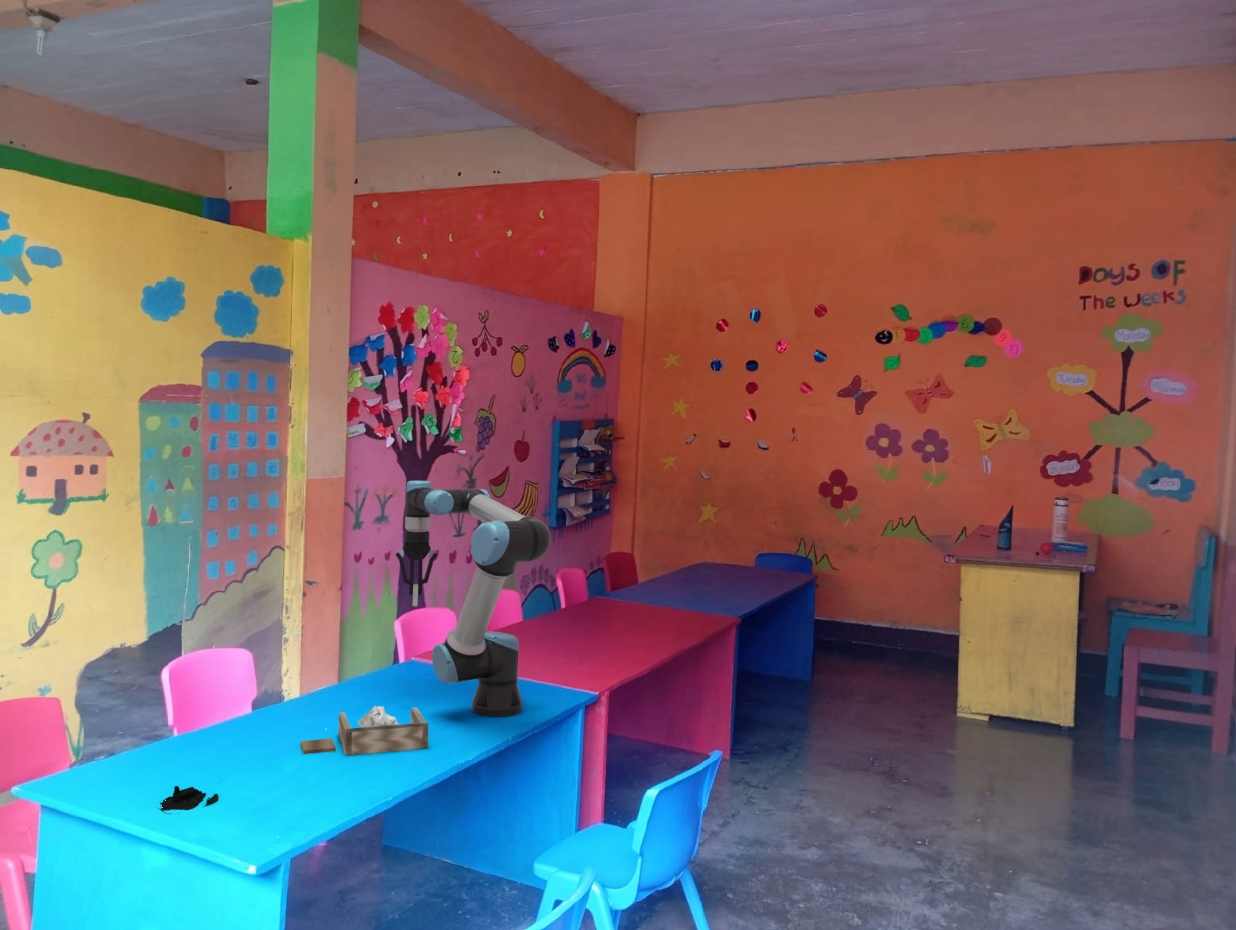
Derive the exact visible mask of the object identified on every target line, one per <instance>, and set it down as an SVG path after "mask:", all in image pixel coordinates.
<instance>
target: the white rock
mask: <svg viewBox="0 0 1236 930" xmlns="http://www.w3.org/2000/svg"><path fill="white" fill-rule="evenodd" d="M356 722H357V724H358V725H359V727H371V726H384V725H397V724H401V723H400V722H398V720H397V718H396V717H395V716H392V715H390V714H388V713H386V711H385V707H384V706H379V705H378V706H376V705H374V706H373V707H372V708H371V710H369V711H368V712H366V714H364V715H363V716H362V717H361V718H360V719H359V720H358V721H356Z"/></svg>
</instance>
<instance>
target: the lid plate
mask: <svg viewBox="0 0 1236 930" xmlns="http://www.w3.org/2000/svg"><path fill="white" fill-rule="evenodd" d="M299 745H300V748H301V751H302V753H303V755H311V753H312V754H321V752H323V753H332V752H331V751H334V752H336V751H337V747H336V744H335V742H334V740H333V738H320V739H308V740H300V744H299Z"/></svg>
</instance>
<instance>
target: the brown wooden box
mask: <svg viewBox="0 0 1236 930" xmlns="http://www.w3.org/2000/svg"><path fill="white" fill-rule="evenodd" d="M337 730H338V734H337V735H338V737H340V738H339V740H340V744H341V743H342V744H341V747H342V746H343V747H342V749H343V752H344V755H345V756H354V755H355V754H356V755H366V754H367V753H368V754H376V753H389V752H390V753H391V752H399V751H400V752H402V751H413V750H414V751H415V750H423V749H424V750H426V748H427V749H428V748H429V722H428V721H427V722H426V720H425V718H424V717H423V715H422V714H421V712H420V710H419V709H418V708H417V707H411V709H410V723H400V724H397V725H384V726H371V727H361V726H359V727H351V725H350V723H349V720H348V717H347V715H346V713H345V712H338V729H337Z"/></svg>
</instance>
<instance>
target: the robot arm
mask: <svg viewBox="0 0 1236 930" xmlns="http://www.w3.org/2000/svg"><path fill="white" fill-rule="evenodd" d="M405 489H406V491H405V517H404V518H405V519H404V529H406V530H405V531H404V545H403V546H402V549H401V550H399V551H396V553H395V556H396V557H397V560H398V561H399V566H400V570H401V575H402V580H403V582H404V583H405V584H408V585H409V589H408V591H409V596H412V607H418V603H419V601H418V600H419V599H418V598H419V596H422V593H423V592H422V590H423V585H424V584H428V583H429V578H430V575H431V572H432V568H433V565H434V562H435V559H436V558H437V556H438V553H437V551H433V550H432V549H431V546H430V531H429V530H430V526H431V515H433V516H446V515H449V514H450V515H451V514H453V515H454V514H455V515H456V514H467V515H469V516H471V517H474V518H475V519H477V520H479V521H480V522H482V523H481V524H480V525H479V526H478V527H477V528H476V529H475V530H474V532H473V534H472V536H471V540H470V546H471V548H470V552H471V557H472V559H473V562H474V564H475V565H474V566H475V567H476V569H475V571H474V574H473V578H472V580H471V583H470V585H469V589H468V591H467V594H466V596H465V600H464V602H463V606H462V608H461V611H460V614H459V617H458V618H457V619H458V620H457V622H456V625H455V628H453V629H451V630H449V632H448V633H447V634H446V637H445V641H444V642H439V643H438V644H435V645H434V646H433V648H432V653H431V654H432V655H431V662H432V666H433V670H434V673H435V675H436V677H437V678H438V679H439V681H440V682H441V683H444V684H458V683H462V682H469V681H475V680H478V685H477V688H476V691H475V693H474V695H473V698H472V701H471V711H472V712H473V713H474V712H475V713H474V714H476V713H477V715H479V714H480V716H484V715H486V716H485V717H494V716H500V717H509V716H510V717H511V716H515V715H517V714H520V713H521V712H522V711H523V700H522V696H521V692H520V689H519V686H518V677H519V676H518V674H519V673H518V672H519V668H518V667H519V652H520V647H519V639H518V637H517V636H515V635H513V634H509V633H505V632H500V631H487V630H488V627H489V624H490V621H491V619H492V616H493V614H494V610H495V608H496V605H497V602H498V600H499V598H500V595H501V592H502V588H503V587H504V583H505V581H506V579H507V578H508V577H511V576H513V574H514V573H515V570H516V567H517V565H518V564H519V563H525V562H526V563H527V562H530V563H531V562H535V561H537V560H539V559H541V558H542V557H544V556H545V555H546V554H547V552H548V551H549V549H550V547H551V543H552V535H551V531H550V529H549V527H548V526H547V524H546V523H545V522H543V521H542V520H540V519H539V518H536V517H535V516H532V515H523V514H521V513H519V512H517V511H516V510H514V509H512V508H509V507H507V505H504V504H502V503H500V502H498V501H497V500H495V499H493V498H491V494H489V491H488V490H487V489H484V488H461V489H460V488H458V489H457V488H456V489H455V488H453V489H452V488H451V489H450V488H449V489H447V488H446V489H444V488H442V489H441V488H440V489H435V488H432V485H431V482H430V481H428V480H409V481H407V483H406V488H405ZM405 555H406V556H407V558H408V560H409V578H408V574H407V571H406V565H405V561H404V556H405ZM427 556H429V561H428V564H427V568H426V571H425V575H424V578H423V565H424V564H423V562H424V561H423V560H424V559H425V558H426V557H427ZM415 561H418V567H417V568H418V570H417V583H415V582H414V579H415V578H414V576H415Z"/></svg>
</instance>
